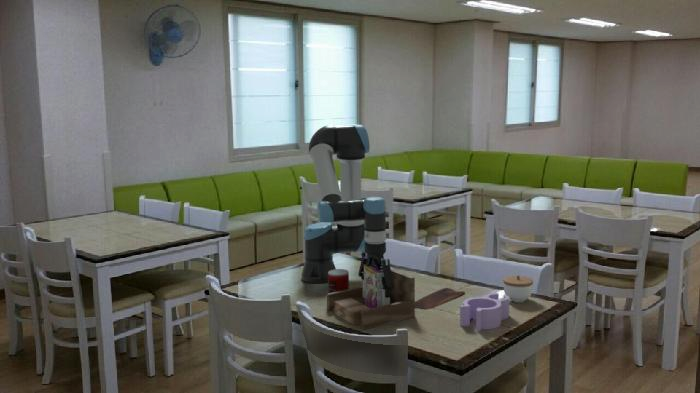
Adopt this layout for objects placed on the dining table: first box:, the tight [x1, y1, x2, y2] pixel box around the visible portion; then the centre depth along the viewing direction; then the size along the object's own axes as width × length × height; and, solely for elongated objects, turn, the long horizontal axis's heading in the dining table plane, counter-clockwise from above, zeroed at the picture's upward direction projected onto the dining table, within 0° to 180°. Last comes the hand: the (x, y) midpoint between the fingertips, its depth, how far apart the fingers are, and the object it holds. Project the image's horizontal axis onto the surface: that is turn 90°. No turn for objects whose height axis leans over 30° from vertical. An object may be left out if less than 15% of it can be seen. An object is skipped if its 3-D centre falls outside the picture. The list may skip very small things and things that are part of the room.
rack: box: [326, 266, 416, 330], centre depth 225 cm, size 24×21×14 cm
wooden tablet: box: [415, 287, 465, 311], centre depth 240 cm, size 26×2×10 cm
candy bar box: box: [364, 264, 384, 309], centre depth 226 cm, size 11×5×16 cm, turn 22°
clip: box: [459, 292, 510, 332], centre depth 216 cm, size 20×12×7 cm, turn 135°
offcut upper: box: [334, 298, 370, 320], centre depth 222 cm, size 14×7×2 cm, turn 28°
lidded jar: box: [502, 274, 534, 303], centre depth 236 cm, size 11×11×9 cm
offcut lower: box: [333, 308, 361, 326], centre depth 222 cm, size 14×7×2 cm, turn 30°
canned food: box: [327, 268, 350, 293], centre depth 241 cm, size 8×8×11 cm
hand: (376, 301), depth 227 cm, fingers closed on candy bar box, 12 cm apart
